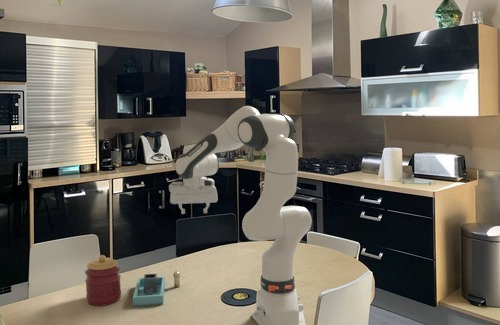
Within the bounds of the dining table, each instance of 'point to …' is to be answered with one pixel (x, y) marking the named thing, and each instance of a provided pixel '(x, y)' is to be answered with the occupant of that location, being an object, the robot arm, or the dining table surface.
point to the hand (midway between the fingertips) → (194, 213)
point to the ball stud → (176, 279)
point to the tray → (149, 300)
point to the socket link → (150, 284)
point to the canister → (103, 281)
